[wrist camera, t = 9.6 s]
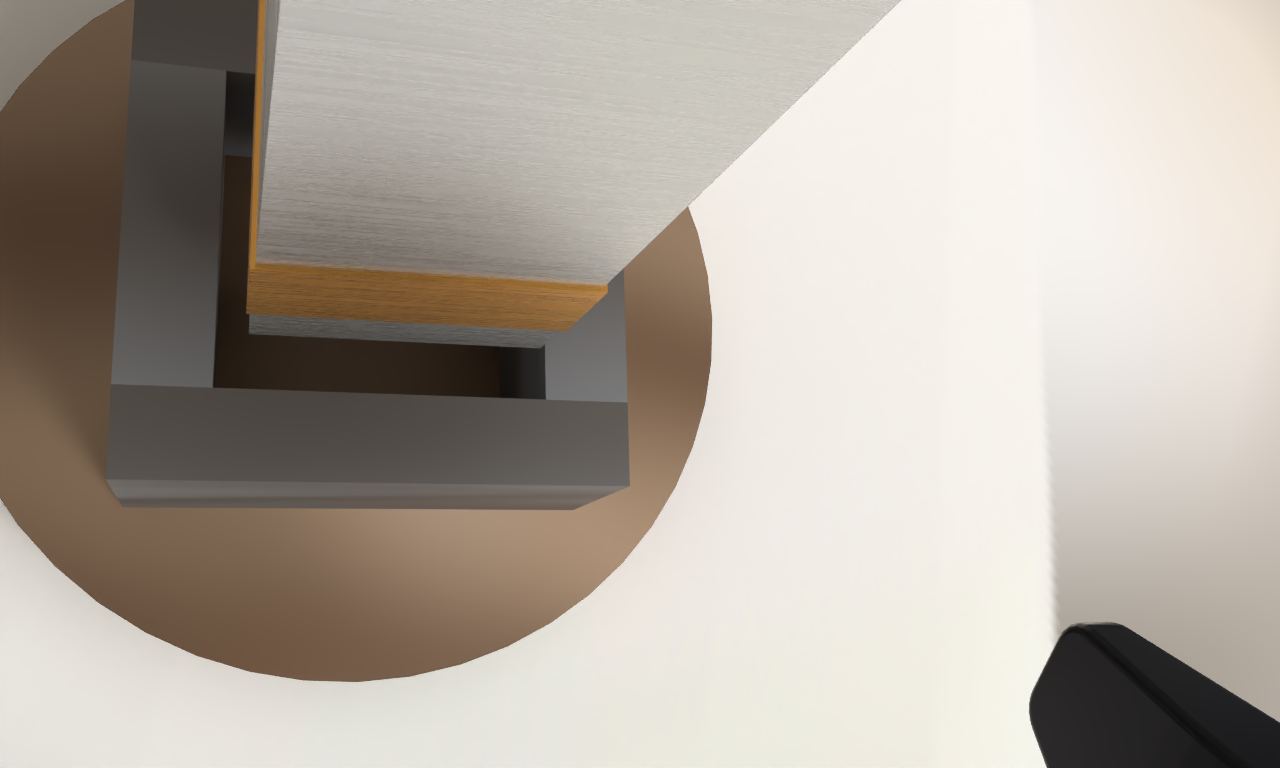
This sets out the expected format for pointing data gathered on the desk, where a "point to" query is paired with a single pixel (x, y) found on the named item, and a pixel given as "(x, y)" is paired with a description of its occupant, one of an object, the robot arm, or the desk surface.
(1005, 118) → the desk surface
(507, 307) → the post
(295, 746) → the desk surface
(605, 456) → the stand base
